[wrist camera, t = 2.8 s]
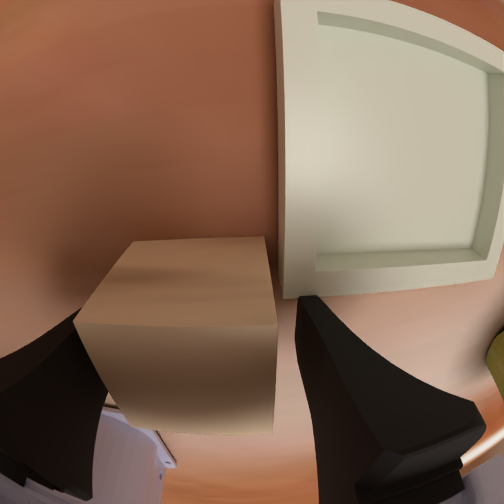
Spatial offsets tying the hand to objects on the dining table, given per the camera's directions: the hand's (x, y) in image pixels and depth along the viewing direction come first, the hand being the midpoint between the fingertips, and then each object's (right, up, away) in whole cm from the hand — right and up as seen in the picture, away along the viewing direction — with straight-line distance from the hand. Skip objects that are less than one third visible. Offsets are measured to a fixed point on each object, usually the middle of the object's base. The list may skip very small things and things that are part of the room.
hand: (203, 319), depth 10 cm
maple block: (0, +1, +2) cm, 2 cm away
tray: (+8, +6, -1) cm, 10 cm away
